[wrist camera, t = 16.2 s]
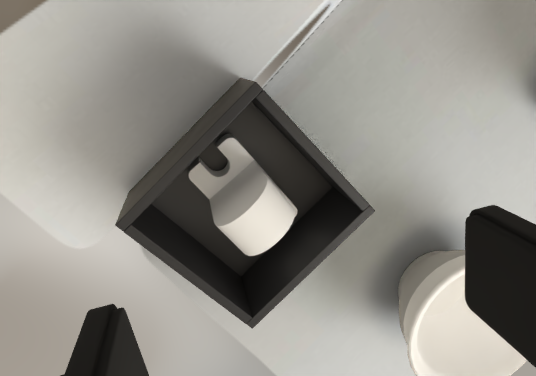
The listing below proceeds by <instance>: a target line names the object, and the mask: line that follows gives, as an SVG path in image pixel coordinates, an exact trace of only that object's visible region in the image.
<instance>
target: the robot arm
mask: <svg viewBox="0 0 536 376" xmlns="http://www.w3.org/2000/svg"><path fill="white" fill-rule="evenodd" d="M465 301H466V303H467V305H468V307H469V308H470V310H471V311H472V312H474V313H475V314H476V315H477V316H478V317H479V318H480V319H482V320H483V321H484V322H485V323H486V324H487V325H488V326H489V327H491V328H492V329H493V330H494V331H495V332H496V333H497V334H498V335H500V336H501V337H502V338H503V339H504V340H505V341H506V342H507V343H509V344H510V345H511V346H512V347H513V348H514V349H515V350H516V351H518V352H519V353H520V354H521V355H522V356H523V357H524V358H525V359H527V360H528V361H529V362H530V363H531V364H532V365H534V366H535V367H536V225H535V224H533V223H531V222H529V221H527V220H525V219H523V218H521V217H519V216H517V215H515V214H513V213H511V212H508V211H506V210H504V209H502V208H500V207H498V206H495V205H491V206H487V207H483V208H479V209H475V210H473V211H471V213H470V216H469V217H468V218H467V219H466V226H465ZM61 376H149V374H148V371H147V369H146V366H145V363H144V360H143V358H142V355H141V352H140V349H139V347H138V344H137V341H136V338H135V336H134V333H133V330H132V327H131V325H130V322H129V319H128V316H127V314H126V311H125V310H124V308H119V309H117V307H116V306H115V305H114V304H111V305H107V306H103V307H99V308H95V309H91V310H89V311H88V313H87V315H86V318H85V320H84V323H83V326H82V328H81V331H80V334H79V337H78V339H77V342H76V345H75V347H74V350H73V353H72V356H71V358H70V361H69V364H68V367H67V369H66V372H65V374H64V375H61Z"/></svg>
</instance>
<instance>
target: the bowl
mask: <svg viewBox="0 0 536 376" xmlns="http://www.w3.org/2000/svg"><path fill="white" fill-rule="evenodd" d="M398 296H399V320H400V326H401V330H402V333H403V335H404V338H405V340H406V343H407V345H408V358H409V362H410V365H411V367H412V369H413V371H414V373H415V375H416V376H510V375H511V374H512V373H514V372H515V371H516V370H517V369H518V368H520V367H521V366H522V365H523V364H524V363H525V362H526V361H527V359H525V358H524V357H523V356H522V355H521V354H520V353H519V352H518V351H516V350H515V349H514V348H513V347H512V346H511V345H510V344H509V343H507V342H506V341H505V340H504V339H503V338H502V337H501V336H500V335H498V334H497V333H496V332H495V331H494V330H493V329H492V328H491V327H489V326H488V325H487V324H486V323H485V322H484V321H483V320H482V319H480V318H479V317H478V316H477V315H476V314H475V313H474V312H472V311H471V310H470V308H469V307H468V305H467V303H466V301H465V250H451V251H447V252H446V251H433V252H429V253H427V254H424V255H422V256H420V257H419V258H417V259H416V260H415V261H413V262H412V263H411V264H410V265H409V266H408V268H407V269H406V270H405V272H404V273H403V275H402V277H401V279H400V282H399V287H398Z"/></svg>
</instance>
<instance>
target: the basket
mask: <svg viewBox="0 0 536 376" xmlns="http://www.w3.org/2000/svg"><path fill="white" fill-rule="evenodd" d="M225 134H231V135H233V136H234V137H235V138H236V139H237V140H238V142H239V143H240V144H241V145H242V146H243V147H244V148H245V150H246V151H247V152H248V153H249V154H250V155H251V156H252V157H253V159H254V160H255V161H256V162H257V163H258V164H259V165H260V167H261V168H262V169H263V170H264V171H265V172H266V173H267V175H268V176H269V177H270V178H271V179H272V180H273V181H274V182H275V184H276V185H277V186H278V187H279V188H280V189H281V190H282V192H283V193H284V194H285V195H286V196H287V197H288V198H289V200H290V201H291V202H292V203H293V204H294V206H295V207H296V208H297V215H296V216H295V217H294V220H293V223H292V225H291V226H290V228H289V230H288V231H287V232H286V234H285V235H284V236H283V237H282V238H281V239H280V240H279V241H278V242H277V243H276V244H275V245H274V246H272V247H271V248H270V249H268V250H266V251H265V252H263V253H261V254H258V255H255V256H248V255H245V254H244V253H243V252H242V251H241V250H240V249H239V248H238V247H237V246H236V245H235V244H234V243H233V242H232V241H231V240H230V239H229V238H228V237H227V236H226V235H225V234H224V233H223V232H222V231H221V230H220V229H219V228H218V227H217V226H216V225H215V223H214V220H213V215H212V210H211V205H210V200H209V199H208V198H207V197H206V196H205V194H204V193H203V192H202V191H201V190H200V189H199V188H198V187H197V186H196V185H195V184H194V183H193V182H192V181H191V180H190V179H189V172H188V168H189V166H190V165H191V164H192V163H193V162H194V161H195V160H196V159H198V158H200V159H201V160H202V161H203V162H204V163H205V164H206V165H207V166H208V167H209V168H210V169H211V170H213V171H220V170H222V169H224V168H225V167H226V165H227V162H228V159H227V158H226V157H225V155H224V154H223V153H222V152H221V151H220V150H219V149H218V148H217V146H216V142H217V141H218V140H219V139H220V138H221V137H223V136H224V135H225ZM374 211H375V210H374V209H373V208H372V207H371V206H370V205H369V203H368V202H367V201H366V200H365V199H364V198H363V197H362V196H361V195H360V194H359V193H358V192H357V190H356V189H355V188H354V187H353V186H352V185H351V184H350V183H349V182H348V181H347V180H346V179H345V178H344V176H343V175H342V174H341V173H340V172H339V171H338V170H337V169H336V168H335V167H334V166H333V165H332V163H331V162H330V161H329V160H328V159H327V158H326V157H325V156H324V155H323V154H322V153H321V152H320V151H319V149H318V148H317V147H316V146H315V145H314V144H313V143H312V142H311V141H310V140H309V139H308V138H307V136H306V135H305V134H304V133H303V132H302V131H301V130H300V129H299V128H298V127H297V126H296V125H295V123H294V122H293V121H292V120H291V119H290V118H289V117H288V116H287V115H286V114H285V113H284V112H283V111H282V109H281V108H280V107H279V106H278V105H277V104H276V103H275V102H274V101H273V100H272V99H271V98H270V96H269V95H268V94H267V93H266V92H265V91H264V90H263V89H262V88H261V87H260V86H259V85H258V84H257V83H256V82H254V81H250V80H246V79H243V78H240V79H239V80H238V81H237V82H236V83H235V84H234V85H233V86H232V87H231V88H230V89H229V90H228V91H227V92H226V93H225V94H224V95H223V96H222V97H221V98H220V99H219V100H218V101H217V102H216V103H215V104H214V105H213V106H212V107H211V108H210V109H209V110H208V111H207V112H206V113H205V114H204V115H203V117H202V118H201V119H200V120H199V121H198V122H197V123H196V124H195V125H194V126H193V127H192V128H191V129H190V130H189V131H188V132H187V133H186V134H185V135H184V136H183V137H182V138H181V139H180V140H179V141H178V142H177V143H176V144H175V145H174V146H173V147H172V148H171V149H170V150H169V151H168V152H167V153H166V155H165V156H164V157H163V158H162V159H161V160H160V161H159V162H158V163H157V164H156V165H155V166H154V167H153V168H152V169H151V170H150V171H149V172H148V173H147V174H146V175H145V176H144V177H143V178H142V179H141V180H140V181H139V182H138V183H137V184H136V185H135V186H134V187H133V188H132V189H131V190H130V191H129V193H128V195H127V198H126V200H125V203H124V205H123V208H122V210H121V212H120V215H119V217H118V220H117V222H116V224H115V225H116V226H117V227H118V228H119V229H121V230H122V231H124V233H126V234H127V235H129V236H130V237H131V238H133V239H134V240H135V241H136V242H138V243H139V244H140V245H142V246H143V247H144V248H146V249H147V250H148V251H150V252H151V253H152V254H154V255H155V256H156V257H158V258H159V259H160V260H162V261H163V262H164V263H166V264H167V265H168V266H170V267H171V268H172V269H174V270H175V271H176V272H178V273H179V274H180V275H182V276H183V277H184V278H186V279H187V280H188V281H190V282H191V283H192V284H194V285H195V286H196V287H198V288H199V289H200V290H202V291H203V292H204V293H206V294H207V295H208V296H210V297H211V298H212V299H214V300H215V301H216V302H218V303H219V304H220V305H222V306H223V307H224V308H225V309H227V310H228V311H229V312H231V313H232V314H233V315H235V316H236V317H237V318H239V319H240V320H241V321H243V322H244V323H245V324H247V325H248V326H250V327H251V328H253V327H255V326H256V325H257V324H258V323H259V322H260V321H261V320H262V319H263V318H264V317H265V316H266V315H267V314H268V313H269V312H270V311H271V310H272V309H273V308H274V307H275V306H276V305H277V304H278V303H280V302H281V301H282V300H283V299H284V298H285V297H286V296H287V295H288V294H289V293H290V292H291V291H292V290H293V289H294V288H295V287H296V286H297V285H298V284H299V283H300V282H301V281H302V280H303V279H305V278H306V277H307V276H308V275H309V274H310V273H311V272H312V271H313V270H314V269H315V268H316V267H317V266H318V265H319V264H320V263H321V262H322V261H323V260H324V259H325V258H326V257H327V256H328V255H330V254H331V253H332V252H333V251H334V250H335V249H336V248H337V247H338V246H339V245H340V244H341V243H342V242H343V241H344V240H345V239H346V238H347V237H348V236H349V235H350V234H351V233H352V232H353V231H355V230H356V229H357V228H358V227H359V226H360V225H361V224H362V223H363V222H364V221H365V220H366V219H367V218H368V217H369V216H370V215H371V214H372V213H373V212H374Z"/></svg>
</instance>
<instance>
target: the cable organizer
mask: <svg viewBox="0 0 536 376" xmlns="http://www.w3.org/2000/svg"><path fill="white" fill-rule="evenodd" d="M216 146H217V148H218V149H219V150H220V151H221V152H222V153H223V154H224V155H225V157H226V158H227V159H228V162H227V165H226V167H225V168H224V169H222V170H220V171H213V170H211V169H210V168H209V167H208V166H207V165H206V164H205V163H204V162H203V161H202V160H201V159H200V158H198V159H196V160H195V161H194V162H193V163H192V164H191V165H190V166H189V168H188V172H189V179H190V180H191V181H192V182H193V183H194V184H195V185H196V186H197V187H198V188H199V189H200V190H201V191H202V192H203V193H204V194H205V196H206V197H207V198H208V199H209V200H210V205H211V210H212V215H213V220H214V223H215V225H216V226H217V227H218V228H219V229H220V230H221V231H222V232H223V233H224V234H225V235H226V236H227V237H228V238H229V239H230V240H231V241H232V242H233V243H234V244H235V245H236V246H237V247H238V248H239V249H240V250H241V251H242V252H243V253H244V254H245V255H248V256H255V255H258V254H261V253H263V252H265V251H266V250H268V249H270V248H271V247H272V246H274V245H275V244H276V243H277V242H278V241H279V240H280V239H281V238H282V237H283V236H284V235H285V234H286V232H287V231H288V230H289V228H290V226H291V225H292V223H293V220H294V217H295V216H296V215H297V208H296V207H295V206H294V204H293V203H292V202H291V201H290V200H289V198H288V197H287V196H286V195H285V194H284V193H283V192H282V190H281V189H280V188H279V187H278V186H277V185H276V184H275V182H274V181H273V180H272V179H271V178H270V177H269V176H268V175H267V173H266V172H265V171H264V170H263V169H262V168H261V167H260V165H259V164H258V163H257V162H256V161H255V160H254V159H253V157H252V156H251V155H250V154H249V153H248V152H247V151H246V150H245V148H244V147H243V146H242V145H241V144H240V143H239V142H238V140H237V139H236V138H235V137H234V136H233V135H231V134H225V135H224V136H223V137H221V138H220V139H219V140H218V141H217V142H216Z"/></svg>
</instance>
